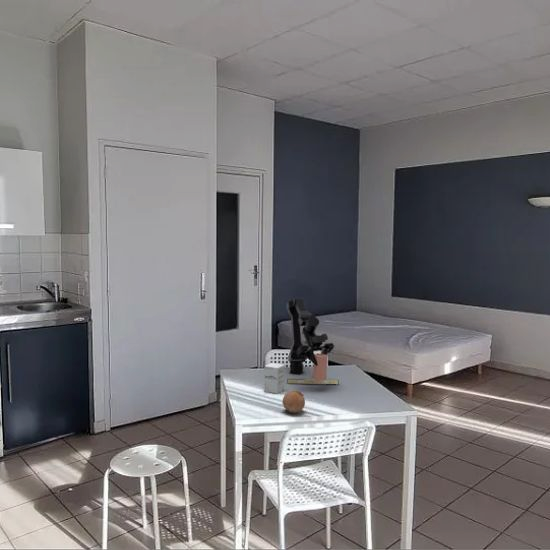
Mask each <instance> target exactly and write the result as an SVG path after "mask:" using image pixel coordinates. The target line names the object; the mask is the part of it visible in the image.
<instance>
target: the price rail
mask: <svg viewBox="0 0 550 550" xmlns="http://www.w3.org/2000/svg"><path fill="white" fill-rule="evenodd" d="M339 381H340V380H339V379H326V380H322V381H316V380H314V379H313V378H311V379H310V378H286V384H287V385H288V384H289V385H290V384H294V385H295V384H296V385H326V384H336V385H337V386H339V384H340V383H339ZM336 385H335V386H336Z"/></svg>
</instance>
